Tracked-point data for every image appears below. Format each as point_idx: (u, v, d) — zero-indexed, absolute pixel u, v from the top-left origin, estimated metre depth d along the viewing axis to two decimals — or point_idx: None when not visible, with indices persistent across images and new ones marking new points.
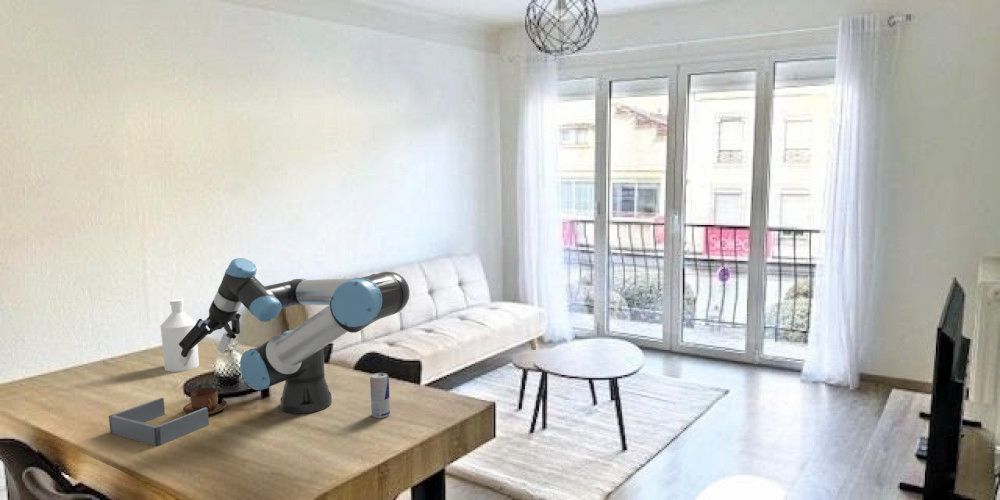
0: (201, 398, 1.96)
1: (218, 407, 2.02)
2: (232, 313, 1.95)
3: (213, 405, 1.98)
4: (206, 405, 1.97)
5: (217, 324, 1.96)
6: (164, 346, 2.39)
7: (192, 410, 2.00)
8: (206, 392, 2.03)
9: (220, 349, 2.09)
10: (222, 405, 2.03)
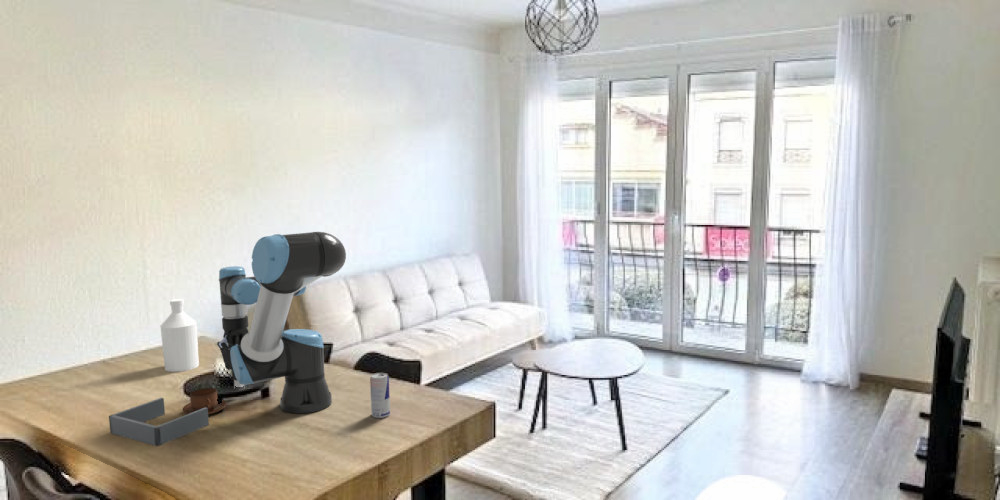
0: (200, 398, 1.96)
1: (218, 407, 2.02)
2: (242, 318, 2.06)
3: (212, 405, 1.98)
4: (205, 405, 1.97)
5: (235, 336, 2.07)
6: (164, 346, 2.39)
7: (192, 410, 2.00)
8: (206, 392, 2.03)
9: None
10: (222, 405, 2.03)
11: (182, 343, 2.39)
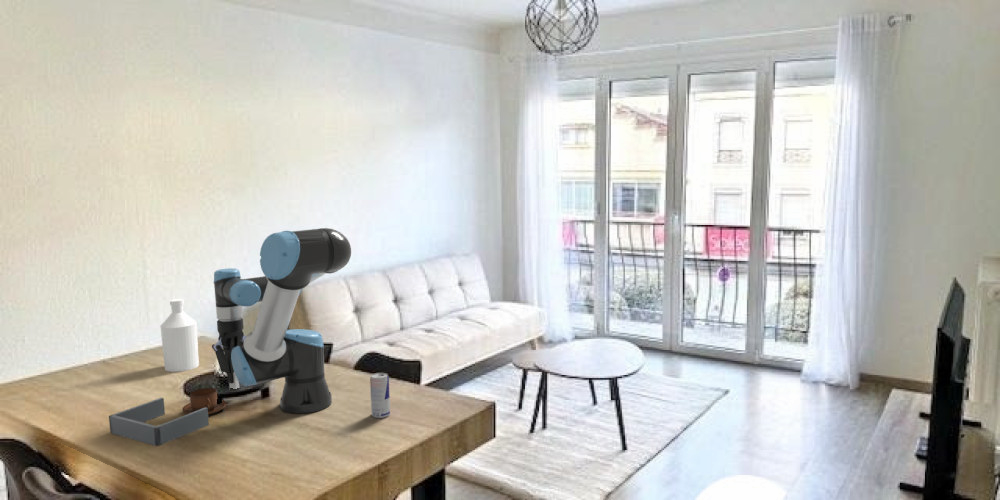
0: (200, 398, 1.96)
1: (217, 407, 2.02)
2: (237, 321, 2.05)
3: (212, 405, 1.98)
4: (205, 405, 1.97)
5: (230, 339, 2.05)
6: (164, 346, 2.39)
7: (191, 410, 2.00)
8: (206, 392, 2.03)
9: None
10: (221, 405, 2.03)
11: (182, 343, 2.39)
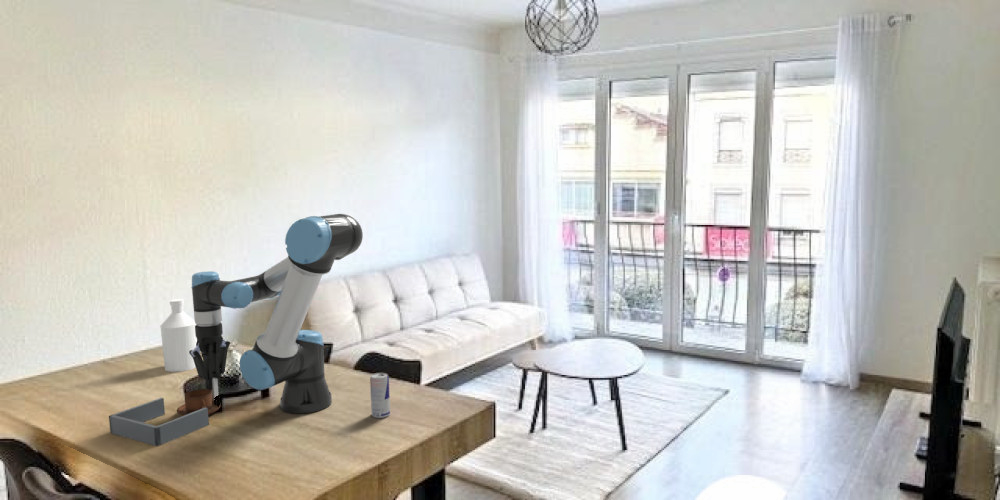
0: (194, 399, 1.94)
1: (212, 408, 2.01)
2: (216, 326, 1.98)
3: (207, 406, 1.97)
4: (200, 406, 1.95)
5: (208, 345, 1.98)
6: (164, 346, 2.39)
7: (186, 412, 1.98)
8: (200, 394, 2.01)
9: None
10: (216, 406, 2.01)
11: (182, 343, 2.39)
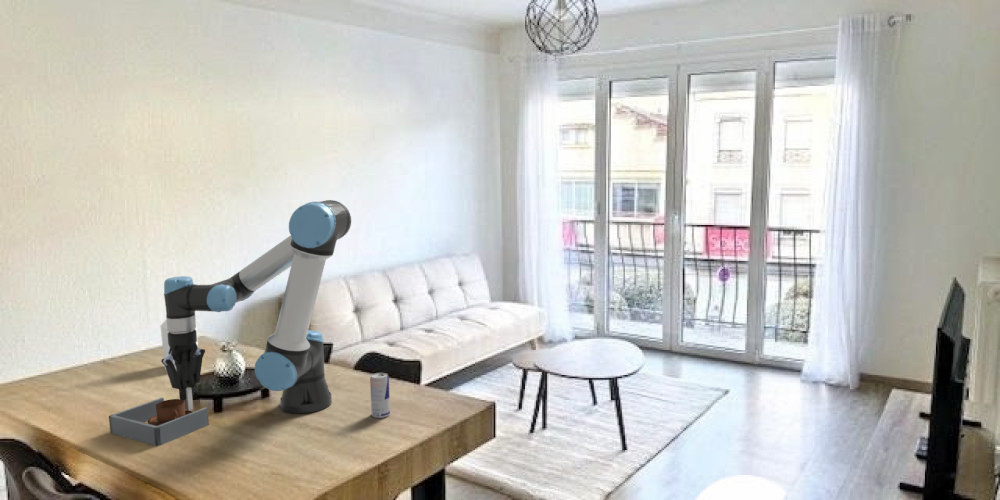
0: (166, 410, 1.86)
1: None
2: (189, 333, 1.90)
3: None
4: (172, 417, 1.87)
5: (181, 353, 1.90)
6: (164, 346, 2.39)
7: (157, 423, 1.90)
8: (173, 404, 1.93)
9: None
10: None
11: None
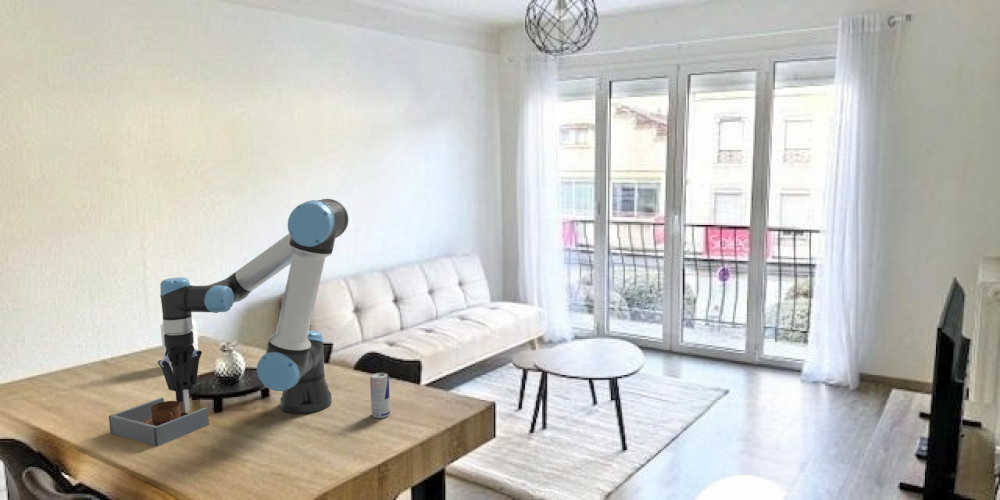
0: (162, 412, 1.85)
1: None
2: (186, 335, 1.89)
3: None
4: (167, 419, 1.86)
5: (178, 354, 1.89)
6: (164, 346, 2.39)
7: None
8: (168, 406, 1.92)
9: None
10: None
11: None
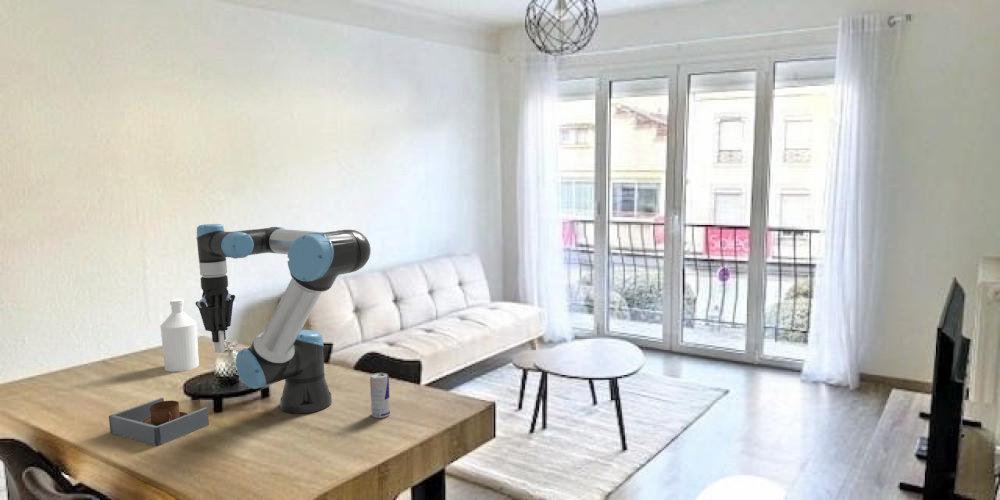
0: (160, 412, 1.85)
1: None
2: (222, 277, 1.99)
3: None
4: (166, 419, 1.86)
5: (214, 296, 1.99)
6: (164, 346, 2.39)
7: (152, 424, 1.89)
8: (167, 405, 1.92)
9: None
10: None
11: (182, 343, 2.39)
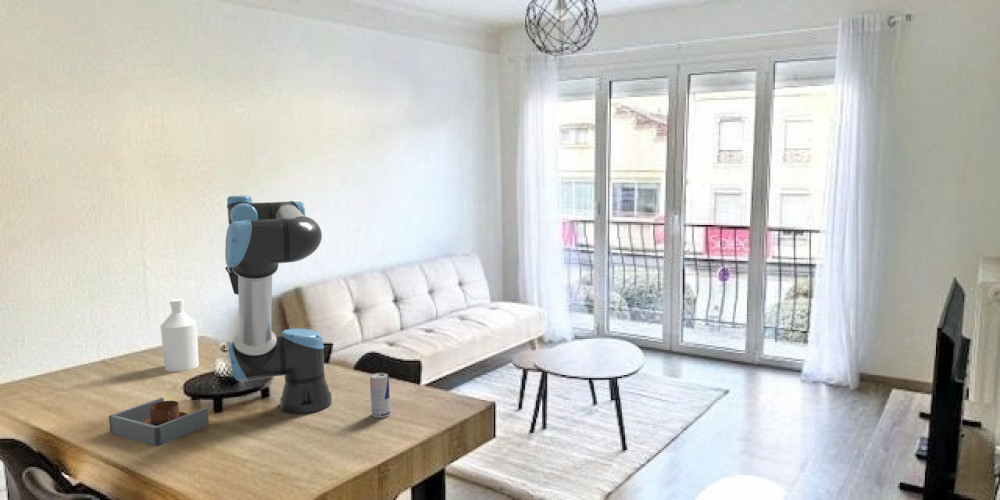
0: (160, 412, 1.85)
1: None
2: None
3: (173, 419, 1.88)
4: (166, 419, 1.86)
5: None
6: (164, 346, 2.39)
7: (151, 424, 1.89)
8: (167, 405, 1.92)
9: None
10: None
11: (182, 343, 2.39)
